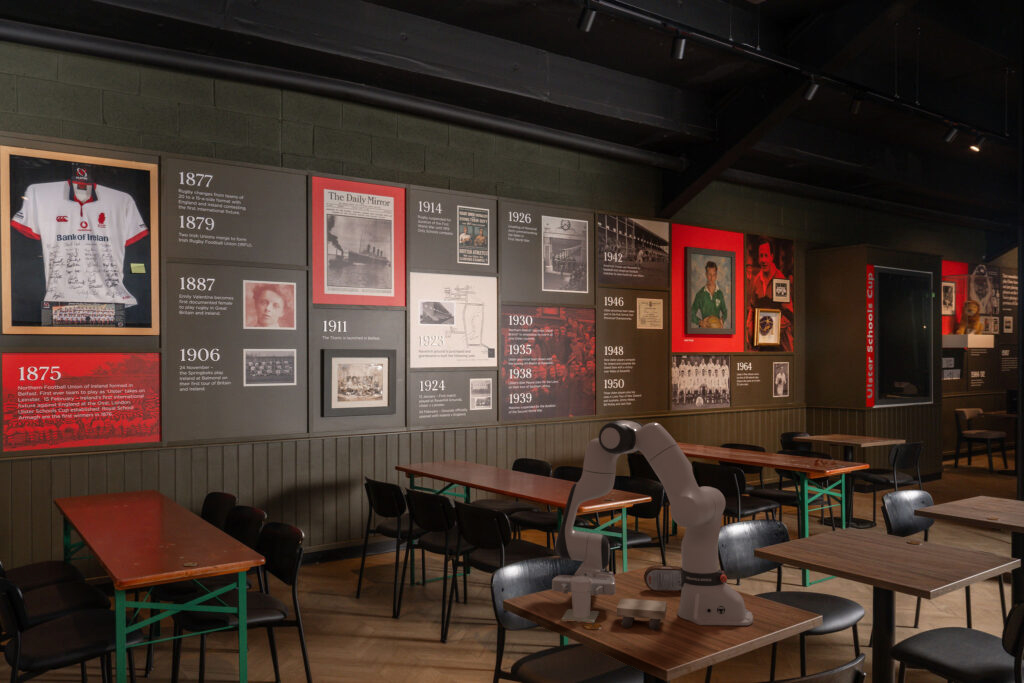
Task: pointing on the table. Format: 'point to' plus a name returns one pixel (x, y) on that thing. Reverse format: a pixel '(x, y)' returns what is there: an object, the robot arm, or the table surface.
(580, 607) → the cup
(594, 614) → the pad
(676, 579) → the tin
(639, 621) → the table surface
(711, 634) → the table surface
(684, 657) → the table surface
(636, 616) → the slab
